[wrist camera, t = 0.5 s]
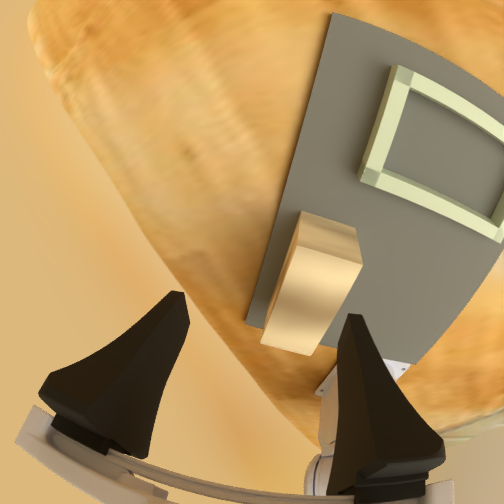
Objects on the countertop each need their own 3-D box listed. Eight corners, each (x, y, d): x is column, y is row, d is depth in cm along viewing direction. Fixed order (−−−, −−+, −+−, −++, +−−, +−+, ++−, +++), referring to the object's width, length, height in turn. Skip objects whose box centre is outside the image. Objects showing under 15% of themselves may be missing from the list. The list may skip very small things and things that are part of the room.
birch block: (313, 315, 25) (310, 356, 21) (269, 302, 25) (259, 343, 21) (355, 227, 19) (363, 265, 16) (301, 210, 20) (297, 245, 16)
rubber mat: (414, 361, 26) (415, 364, 26) (245, 320, 27) (244, 323, 27) (547, 138, 12) (551, 139, 11) (332, 13, 12) (332, 12, 12)
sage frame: (492, 233, 17) (500, 243, 16) (356, 173, 17) (360, 181, 16) (529, 150, 13) (540, 156, 11) (391, 65, 13) (398, 64, 12)
